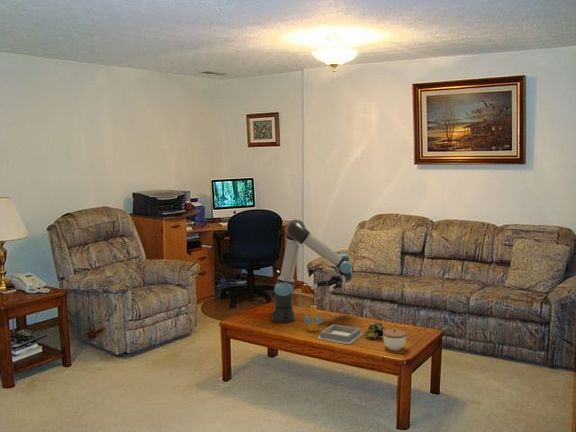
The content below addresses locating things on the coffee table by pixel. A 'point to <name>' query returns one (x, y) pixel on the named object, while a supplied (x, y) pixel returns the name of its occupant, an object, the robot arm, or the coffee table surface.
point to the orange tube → (313, 319)
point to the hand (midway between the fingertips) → (320, 288)
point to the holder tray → (340, 334)
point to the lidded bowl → (394, 339)
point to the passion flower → (375, 330)
